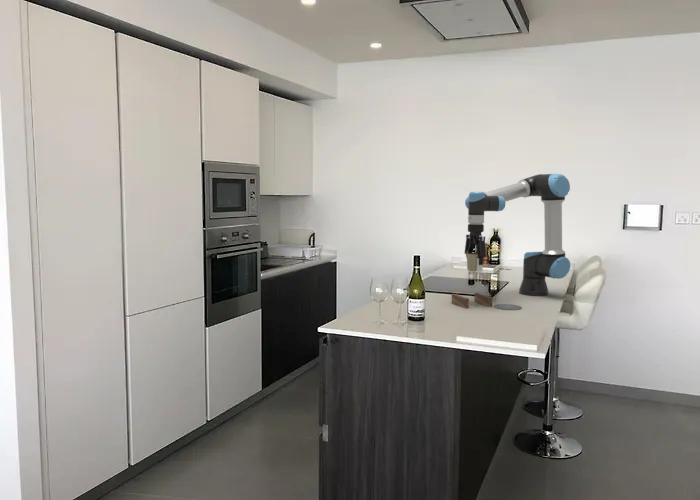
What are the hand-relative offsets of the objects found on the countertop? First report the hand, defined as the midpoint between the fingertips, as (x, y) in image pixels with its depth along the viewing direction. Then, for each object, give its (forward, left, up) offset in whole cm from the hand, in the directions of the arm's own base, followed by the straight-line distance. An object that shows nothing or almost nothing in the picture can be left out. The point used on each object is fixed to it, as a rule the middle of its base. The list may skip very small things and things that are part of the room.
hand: (474, 270), depth 288 cm
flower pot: (0, 0, -1) cm, 1 cm away
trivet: (-13, +10, -17) cm, 24 cm away
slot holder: (+1, 0, -17) cm, 17 cm away
